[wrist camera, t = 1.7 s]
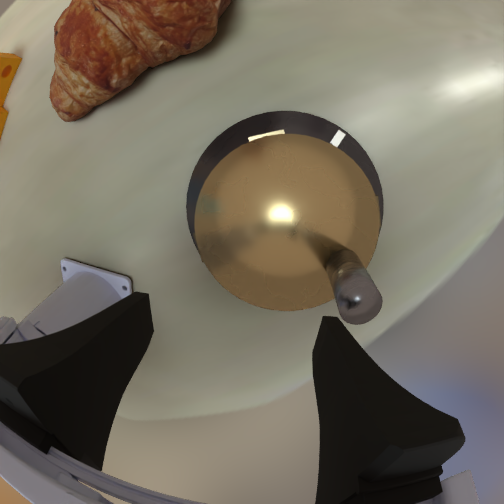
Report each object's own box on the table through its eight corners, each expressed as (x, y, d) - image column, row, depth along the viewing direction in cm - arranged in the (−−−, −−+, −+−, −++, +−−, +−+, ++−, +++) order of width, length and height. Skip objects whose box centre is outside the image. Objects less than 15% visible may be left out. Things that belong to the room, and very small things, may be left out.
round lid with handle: (182, 238, 18) (136, 292, 12) (259, 104, 15) (247, 79, 8) (305, 308, 20) (313, 381, 13) (392, 195, 16) (449, 231, 10)
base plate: (344, 306, 21) (348, 316, 20) (183, 273, 21) (177, 281, 20) (397, 144, 16) (405, 145, 15) (208, 97, 16) (202, 94, 15)
